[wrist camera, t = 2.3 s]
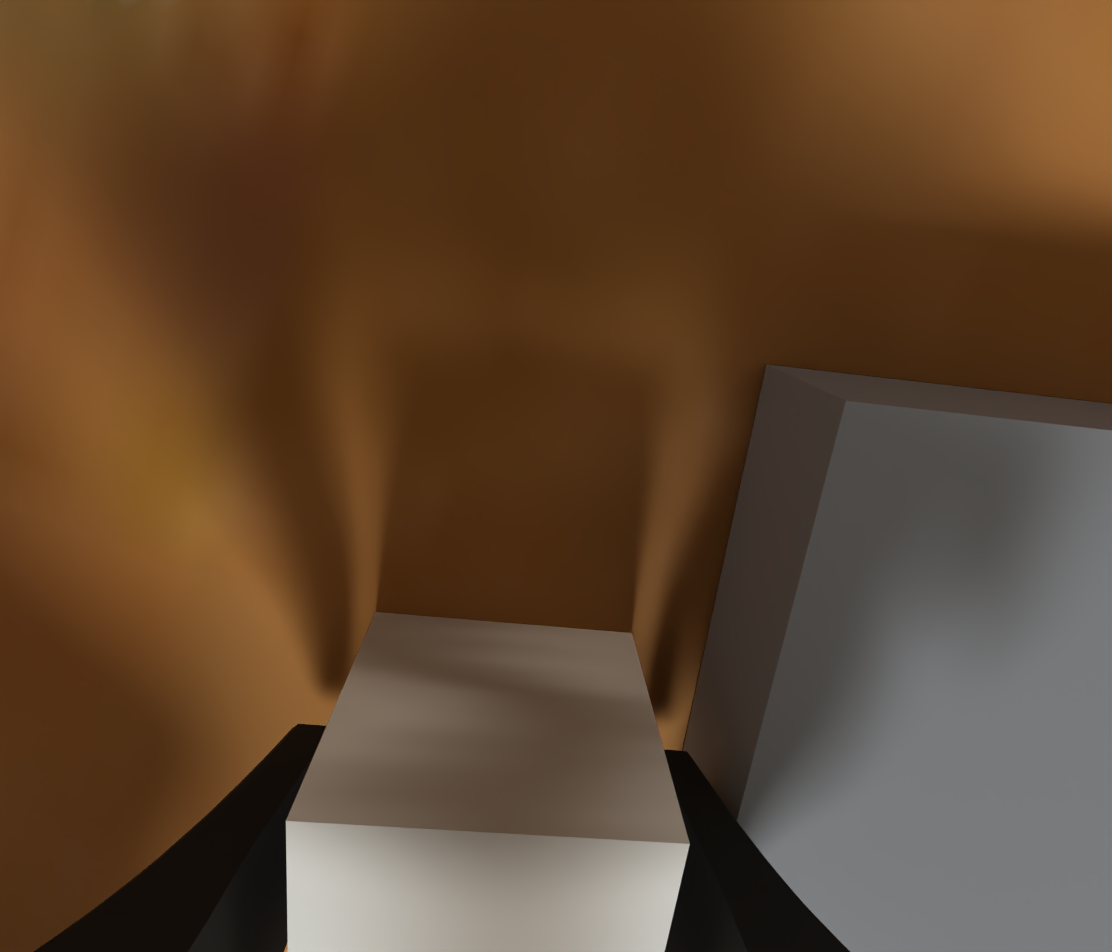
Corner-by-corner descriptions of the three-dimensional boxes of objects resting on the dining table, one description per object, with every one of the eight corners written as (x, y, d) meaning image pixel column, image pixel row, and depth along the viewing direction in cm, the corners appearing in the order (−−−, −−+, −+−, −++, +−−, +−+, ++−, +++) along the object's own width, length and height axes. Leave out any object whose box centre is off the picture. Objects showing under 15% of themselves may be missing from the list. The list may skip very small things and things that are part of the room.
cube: (369, 813, 14) (289, 1091, 10) (376, 610, 13) (285, 820, 8) (596, 826, 15) (629, 1100, 10) (630, 630, 13) (689, 843, 8)
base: (653, 885, 15) (682, 1032, 12) (766, 364, 11) (845, 400, 8) (1139, 911, 16) (1271, 1054, 13) (1392, 436, 12) (1655, 490, 9)
